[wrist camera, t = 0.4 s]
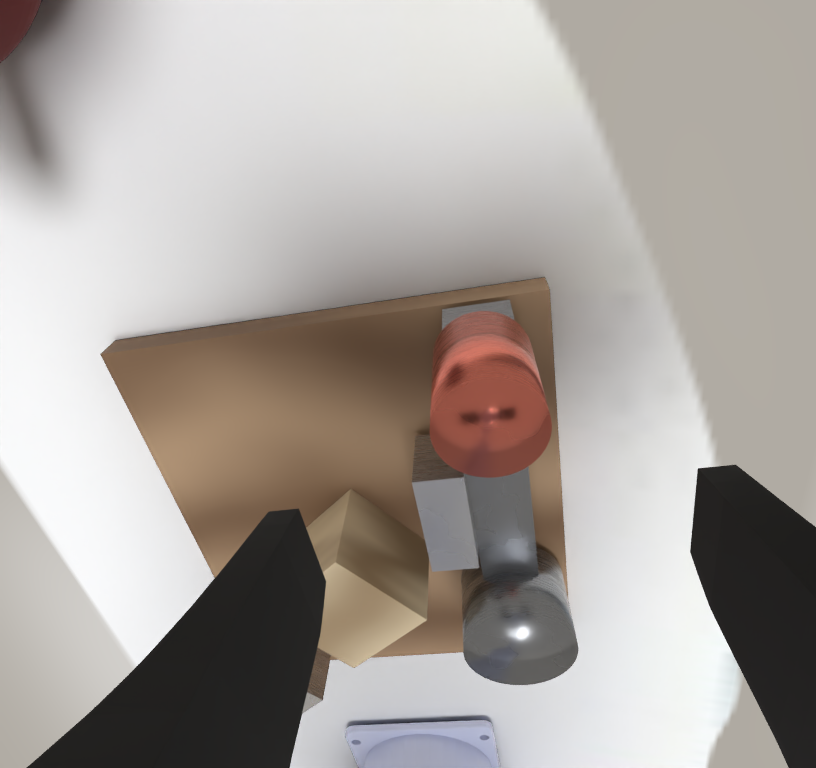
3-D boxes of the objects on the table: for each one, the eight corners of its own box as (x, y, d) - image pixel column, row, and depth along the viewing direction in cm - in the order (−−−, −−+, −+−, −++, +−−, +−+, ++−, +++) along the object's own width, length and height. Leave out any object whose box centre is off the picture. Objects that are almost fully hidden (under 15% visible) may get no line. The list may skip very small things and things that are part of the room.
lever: (564, 607, 24) (590, 732, 20) (453, 615, 25) (455, 738, 20) (543, 281, 17) (577, 367, 12) (387, 304, 17) (368, 394, 13)
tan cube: (429, 543, 23) (426, 619, 20) (365, 590, 24) (354, 667, 22) (350, 488, 22) (335, 562, 19) (289, 542, 23) (265, 617, 20)
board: (566, 625, 26) (571, 645, 26) (264, 645, 29) (258, 663, 28) (544, 277, 18) (549, 289, 17) (115, 340, 20) (100, 354, 19)
